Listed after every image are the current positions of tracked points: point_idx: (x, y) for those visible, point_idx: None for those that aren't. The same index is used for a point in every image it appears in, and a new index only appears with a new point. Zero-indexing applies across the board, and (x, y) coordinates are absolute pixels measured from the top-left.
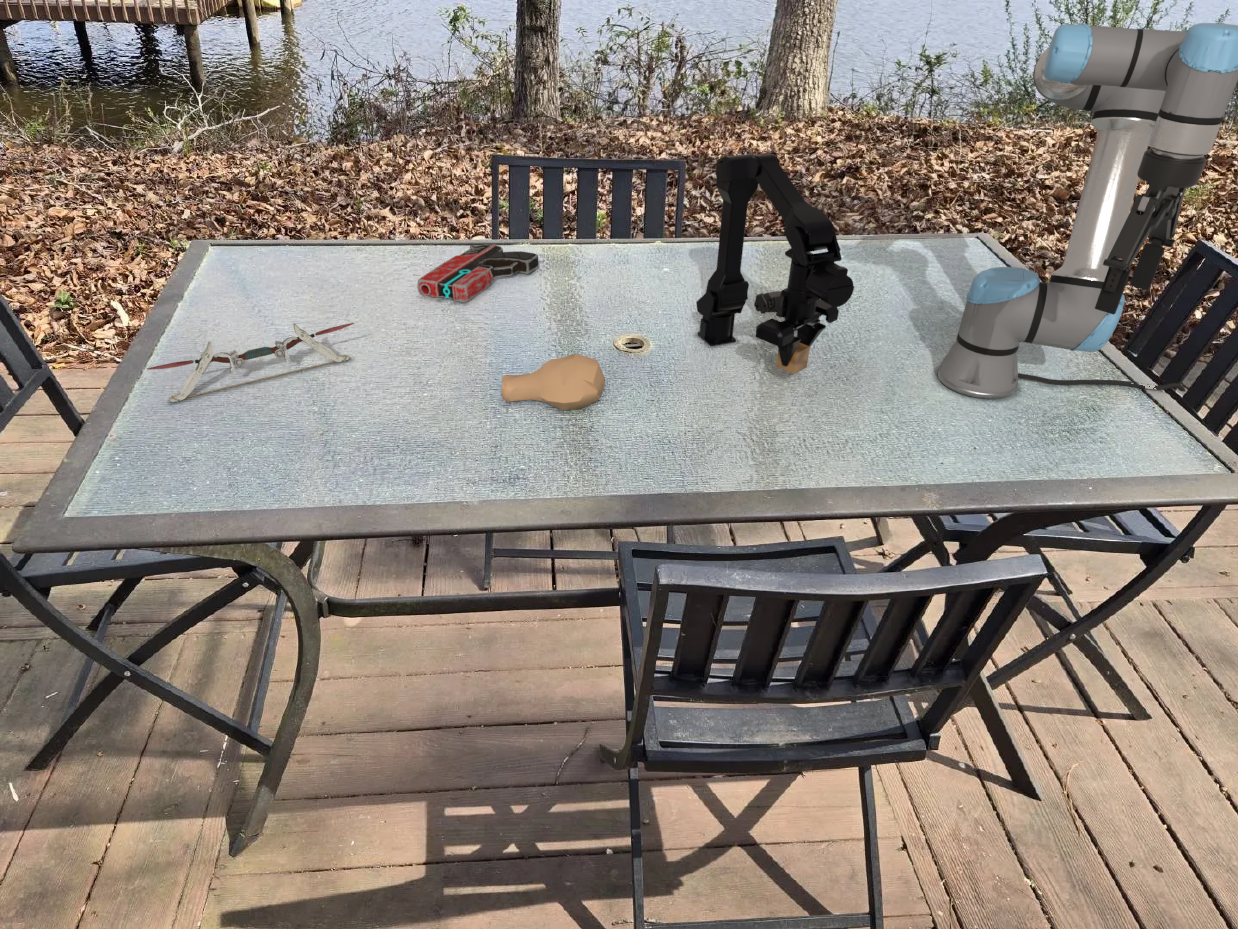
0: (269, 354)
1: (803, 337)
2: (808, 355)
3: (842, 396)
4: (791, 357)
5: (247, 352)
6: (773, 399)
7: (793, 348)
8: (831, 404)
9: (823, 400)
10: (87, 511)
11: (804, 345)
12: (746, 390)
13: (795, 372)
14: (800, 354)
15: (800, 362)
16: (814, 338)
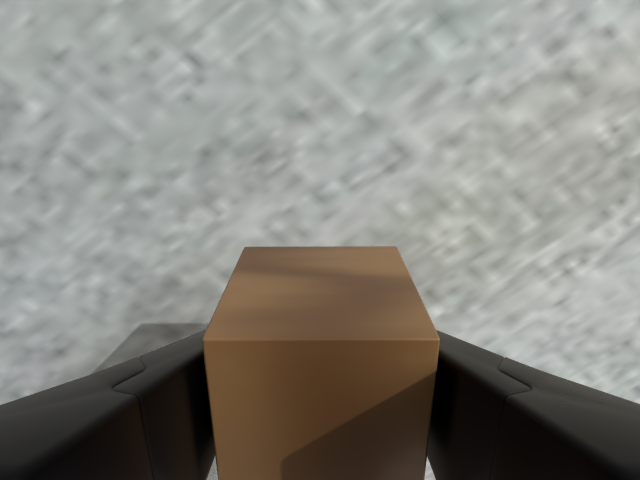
0: None
1: (174, 478)
2: (228, 290)
3: (121, 27)
4: (442, 343)
5: None
6: (419, 248)
7: (602, 395)
8: (243, 15)
9: (242, 76)
10: None
11: (232, 386)
12: None
13: (381, 248)
14: (368, 317)
15: (340, 276)
16: (112, 391)
